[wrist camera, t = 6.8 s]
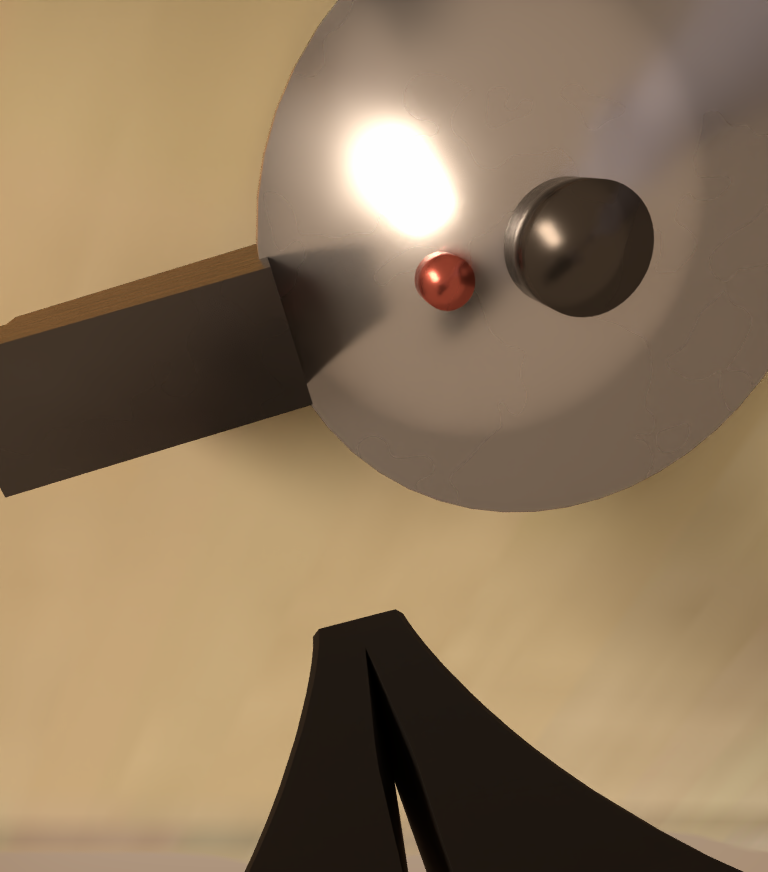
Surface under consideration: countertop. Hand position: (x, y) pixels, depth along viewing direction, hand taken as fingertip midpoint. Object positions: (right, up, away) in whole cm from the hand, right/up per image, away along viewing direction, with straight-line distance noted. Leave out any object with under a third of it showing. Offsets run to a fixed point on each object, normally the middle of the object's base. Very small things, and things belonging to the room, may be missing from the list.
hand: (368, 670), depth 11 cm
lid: (+1, +7, +3) cm, 8 cm away
